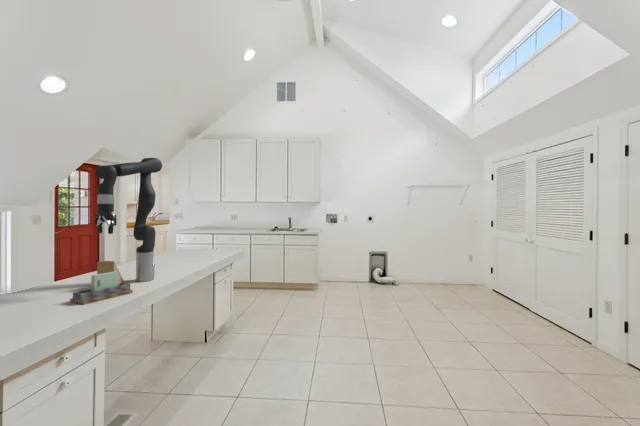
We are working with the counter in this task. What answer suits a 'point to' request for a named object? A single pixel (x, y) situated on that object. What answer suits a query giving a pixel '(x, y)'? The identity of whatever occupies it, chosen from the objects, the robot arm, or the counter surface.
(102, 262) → the sandwich container
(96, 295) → the door track
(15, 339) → the counter surface
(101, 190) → the robot arm
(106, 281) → the door panel
